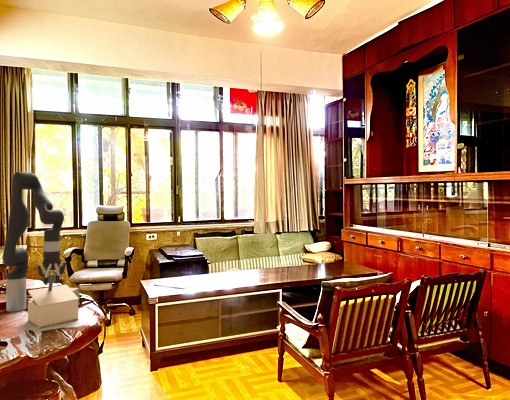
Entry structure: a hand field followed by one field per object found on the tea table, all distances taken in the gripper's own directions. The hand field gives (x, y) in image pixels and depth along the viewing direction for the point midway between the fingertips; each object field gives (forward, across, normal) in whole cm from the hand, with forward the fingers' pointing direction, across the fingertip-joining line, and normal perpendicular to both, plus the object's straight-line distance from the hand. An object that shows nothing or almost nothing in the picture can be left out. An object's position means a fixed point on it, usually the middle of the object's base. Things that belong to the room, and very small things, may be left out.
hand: (51, 283), depth 195 cm
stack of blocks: (+19, -11, -14) cm, 26 cm away
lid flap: (+5, 0, +3) cm, 6 cm away
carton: (+18, 0, +3) cm, 18 cm away
